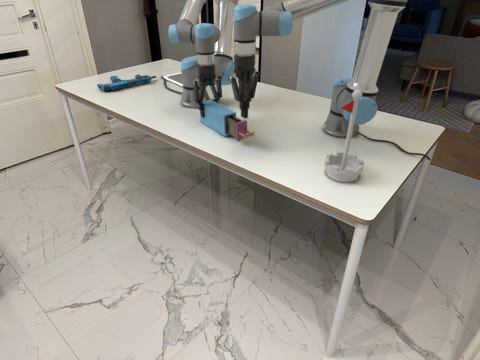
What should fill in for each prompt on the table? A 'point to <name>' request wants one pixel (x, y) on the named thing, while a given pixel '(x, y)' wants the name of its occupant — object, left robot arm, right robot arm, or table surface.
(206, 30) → the left robot arm
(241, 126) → the drawer
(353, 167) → the flag stand
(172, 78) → the tablet
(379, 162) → the table surface
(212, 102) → the cabinet
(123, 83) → the submachine gun
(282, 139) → the table surface
